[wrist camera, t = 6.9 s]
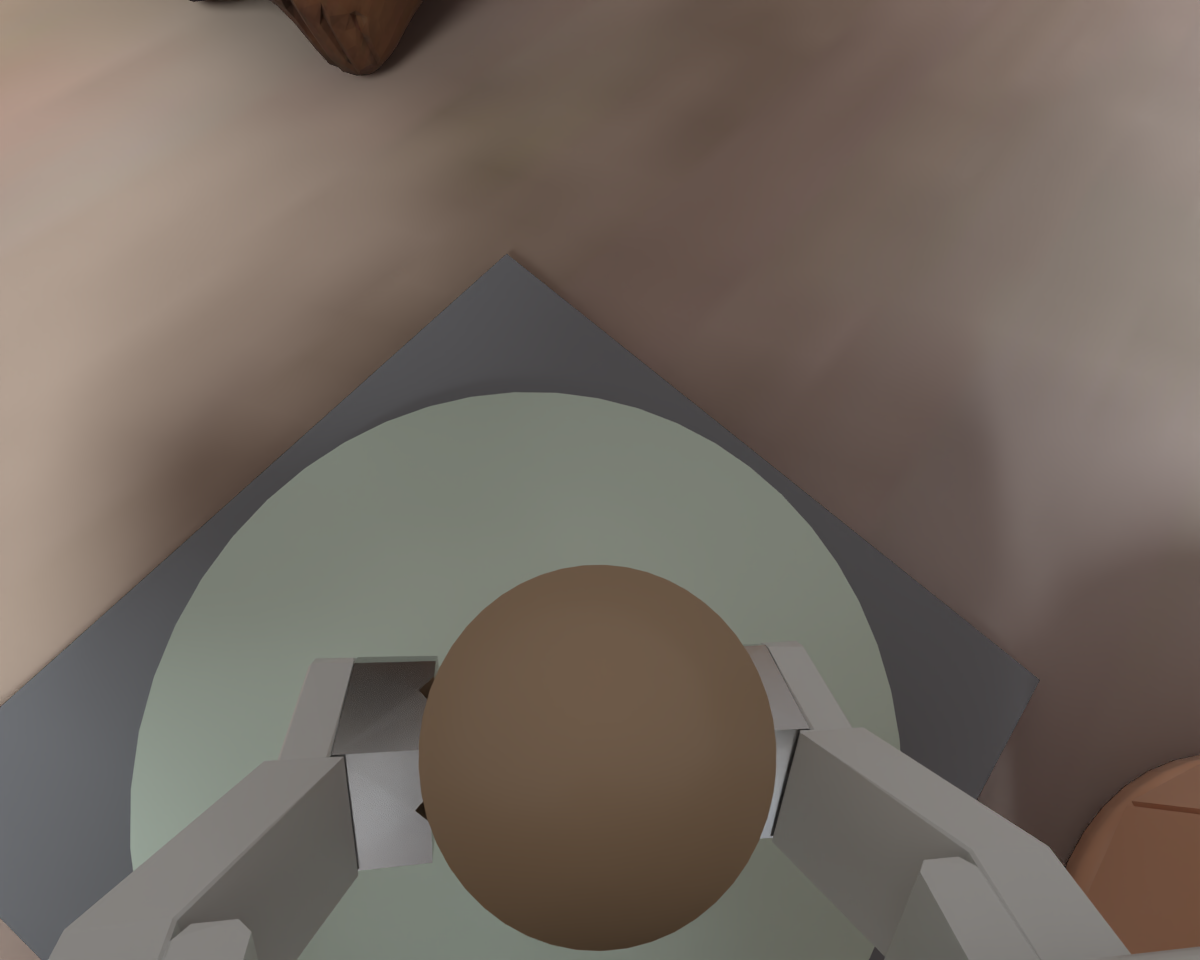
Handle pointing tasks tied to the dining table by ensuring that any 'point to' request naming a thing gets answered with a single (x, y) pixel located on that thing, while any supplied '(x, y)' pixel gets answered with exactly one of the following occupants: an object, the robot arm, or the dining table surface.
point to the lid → (533, 681)
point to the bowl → (1147, 859)
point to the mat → (400, 386)
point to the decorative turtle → (351, 29)
